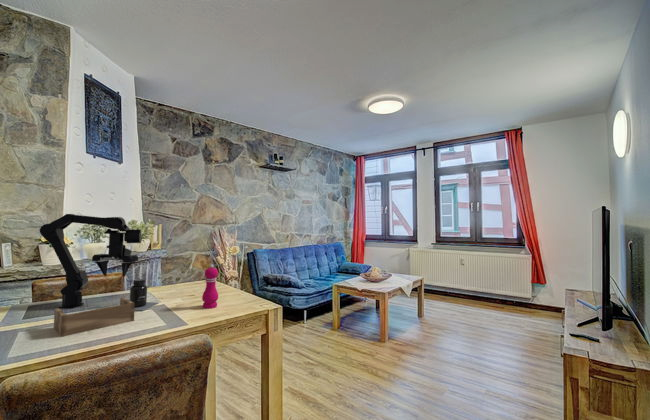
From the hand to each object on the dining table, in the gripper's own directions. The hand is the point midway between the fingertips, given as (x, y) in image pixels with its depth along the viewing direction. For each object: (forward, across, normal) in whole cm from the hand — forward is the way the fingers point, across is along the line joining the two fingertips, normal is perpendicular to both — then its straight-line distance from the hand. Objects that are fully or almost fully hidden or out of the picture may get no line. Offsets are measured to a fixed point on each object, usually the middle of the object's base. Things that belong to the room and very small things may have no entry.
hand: (114, 276), depth 144 cm
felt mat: (+13, -14, +3) cm, 19 cm away
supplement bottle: (+13, -14, +3) cm, 19 cm away
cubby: (+13, -12, +26) cm, 31 cm away
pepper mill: (+13, -46, -1) cm, 48 cm away
